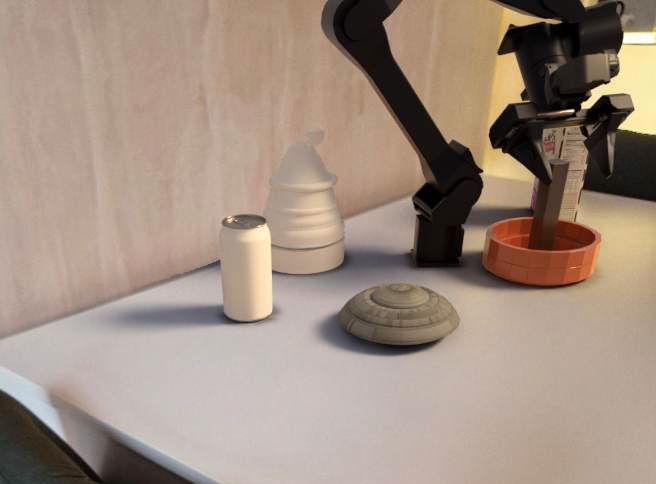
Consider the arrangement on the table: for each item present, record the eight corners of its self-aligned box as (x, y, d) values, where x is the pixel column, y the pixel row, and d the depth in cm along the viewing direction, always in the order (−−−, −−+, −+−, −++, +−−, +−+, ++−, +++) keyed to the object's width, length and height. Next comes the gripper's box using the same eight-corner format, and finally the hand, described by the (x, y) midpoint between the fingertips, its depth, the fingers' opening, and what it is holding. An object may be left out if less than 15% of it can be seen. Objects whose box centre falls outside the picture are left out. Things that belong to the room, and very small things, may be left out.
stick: (515, 261, 112) (532, 159, 103) (541, 257, 113) (560, 156, 104) (532, 271, 109) (552, 166, 100) (558, 267, 110) (580, 163, 101)
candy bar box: (527, 208, 134) (545, 104, 124) (556, 207, 134) (576, 103, 124) (544, 228, 125) (565, 118, 115) (575, 228, 125) (599, 117, 115)
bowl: (496, 290, 105) (501, 254, 102) (471, 251, 117) (475, 218, 114) (609, 287, 105) (618, 250, 102) (572, 248, 117) (579, 215, 114)
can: (236, 327, 98) (231, 232, 90) (216, 309, 102) (209, 218, 95) (281, 316, 100) (279, 223, 93) (259, 300, 105) (255, 209, 97)
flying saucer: (317, 317, 99) (318, 276, 96) (415, 296, 104) (419, 256, 101) (376, 364, 89) (379, 320, 85) (482, 338, 93) (489, 295, 90)
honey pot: (351, 247, 120) (356, 122, 109) (334, 277, 111) (337, 142, 100) (273, 242, 123) (270, 119, 112) (249, 270, 114) (243, 139, 103)
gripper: (517, 28, 90) (555, 148, 89) (645, 20, 95) (683, 134, 93) (472, 92, 101) (505, 201, 99) (589, 82, 106) (622, 186, 104)
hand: (579, 180), depth 99 cm, fingers open, 9 cm apart
